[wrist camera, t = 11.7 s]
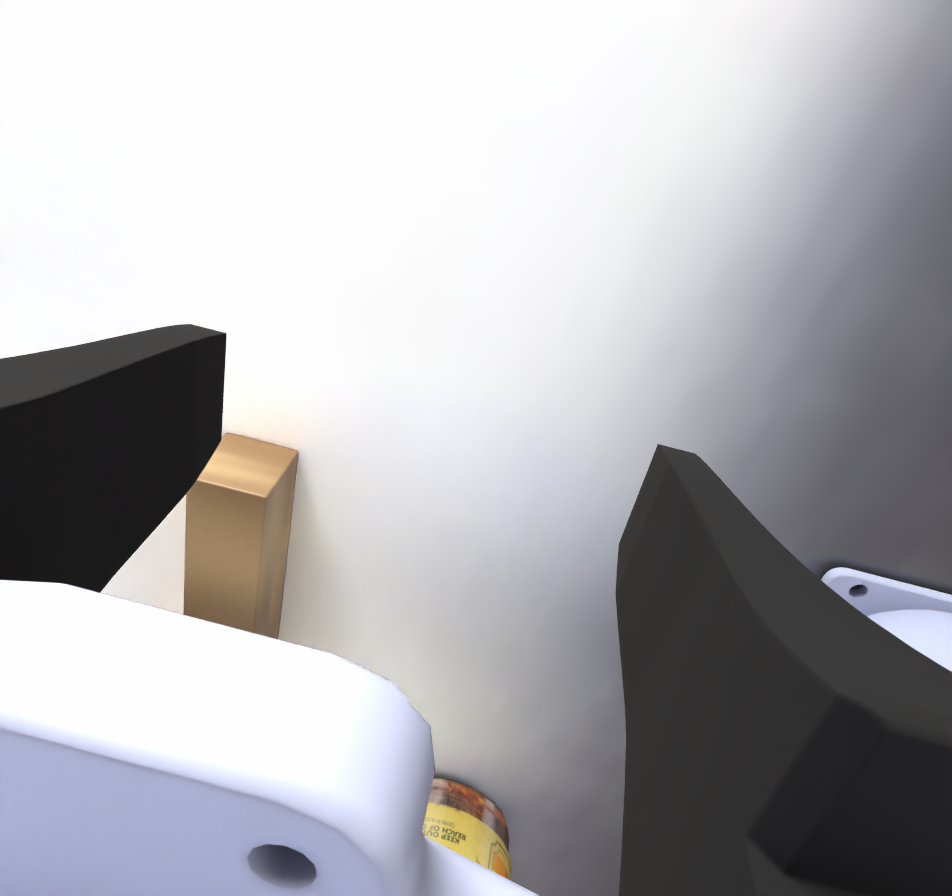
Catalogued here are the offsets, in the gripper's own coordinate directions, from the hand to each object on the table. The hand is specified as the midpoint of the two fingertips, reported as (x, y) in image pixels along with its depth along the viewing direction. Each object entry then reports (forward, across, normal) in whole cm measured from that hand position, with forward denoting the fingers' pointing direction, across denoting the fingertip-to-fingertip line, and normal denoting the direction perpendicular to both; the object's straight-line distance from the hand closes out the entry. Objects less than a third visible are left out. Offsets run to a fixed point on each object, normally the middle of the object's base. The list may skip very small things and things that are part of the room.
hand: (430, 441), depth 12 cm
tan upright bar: (+9, +6, +17) cm, 20 cm away
